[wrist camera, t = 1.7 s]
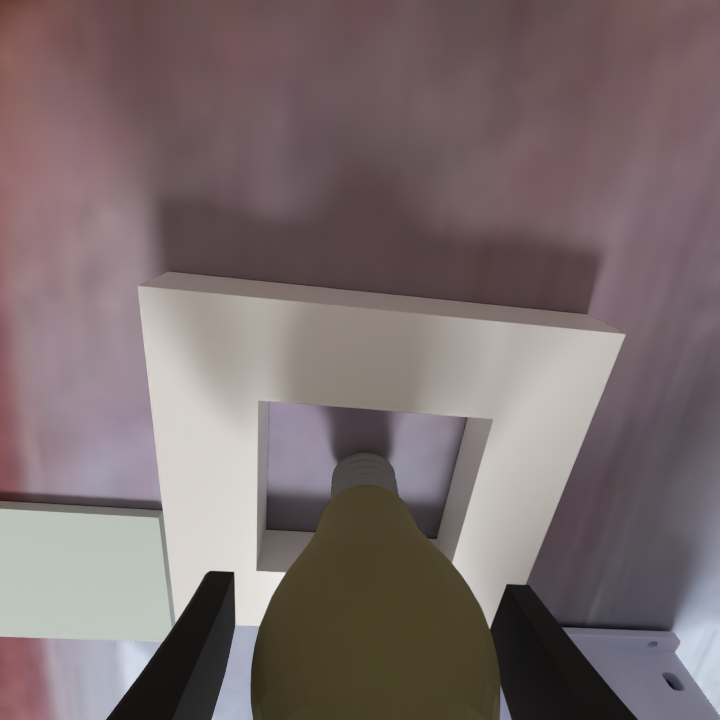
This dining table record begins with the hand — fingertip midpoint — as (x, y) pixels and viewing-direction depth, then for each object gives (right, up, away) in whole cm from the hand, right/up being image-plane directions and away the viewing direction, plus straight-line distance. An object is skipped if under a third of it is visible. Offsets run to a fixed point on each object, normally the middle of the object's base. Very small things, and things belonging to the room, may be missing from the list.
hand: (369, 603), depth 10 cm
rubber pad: (-13, -3, +7) cm, 15 cm away
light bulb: (0, +2, +6) cm, 6 cm away
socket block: (0, +2, +5) cm, 6 cm away
